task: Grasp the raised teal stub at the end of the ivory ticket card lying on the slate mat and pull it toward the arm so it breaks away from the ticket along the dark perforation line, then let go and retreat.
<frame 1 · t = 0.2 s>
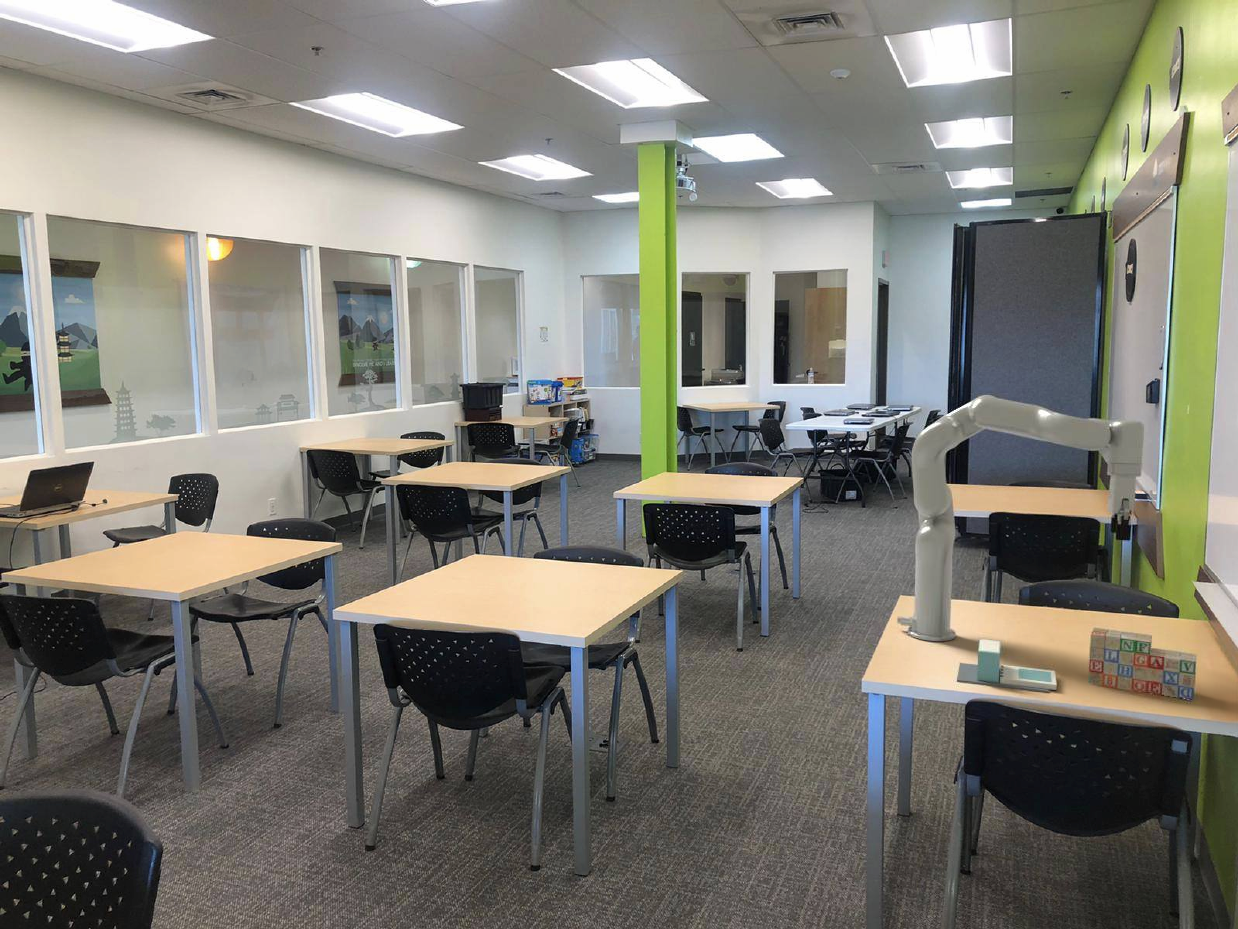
hand: (1120, 536, 235), 31 cm above the table, tool pointing down, fingers open, 9 cm apart
stub: (988, 660, 224), point 4 cm above the table, slide at 0.0 cm
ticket: (1022, 680, 221), on the table
stack of blocks: (1140, 689, 216), on the table
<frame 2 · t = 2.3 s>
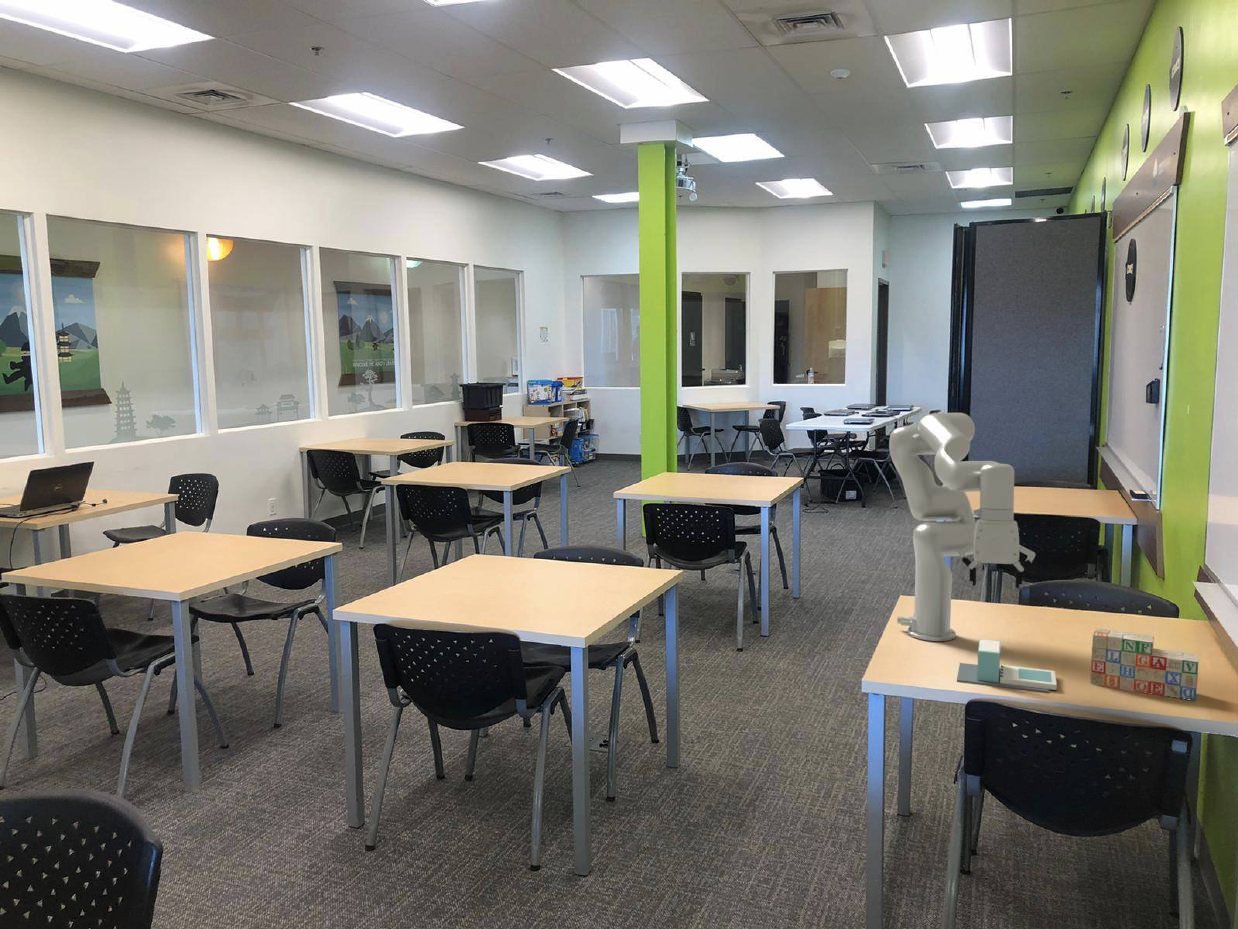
hand: (995, 585, 224), 22 cm above the table, tool pointing down, fingers open, 9 cm apart
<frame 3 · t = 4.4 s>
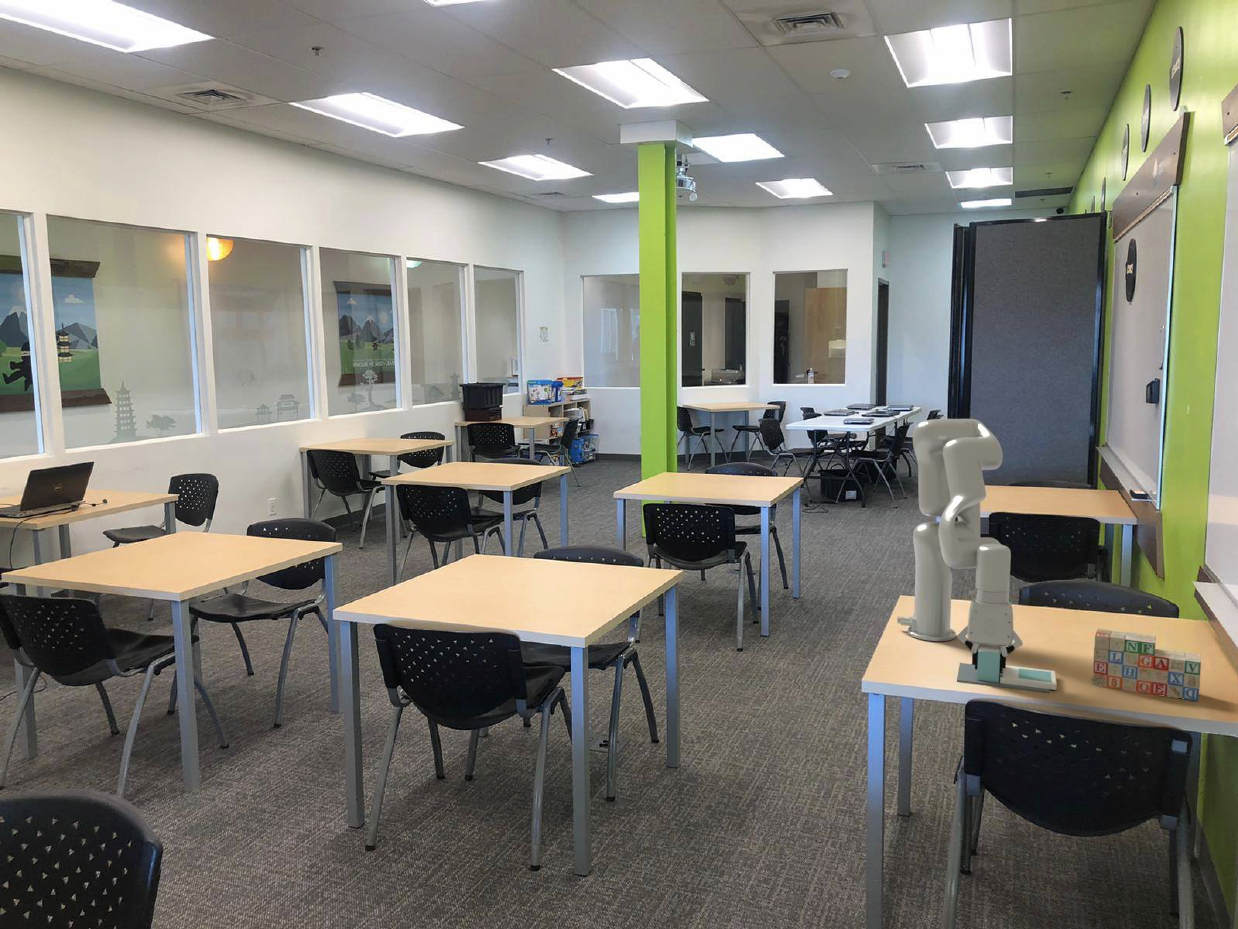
hand: (988, 668, 224), 2 cm above the table, tool pointing down, fingers closed on stub, 4 cm apart
stub: (988, 660, 224), point 4 cm above the table, slide at 0.0 cm, touching gripper
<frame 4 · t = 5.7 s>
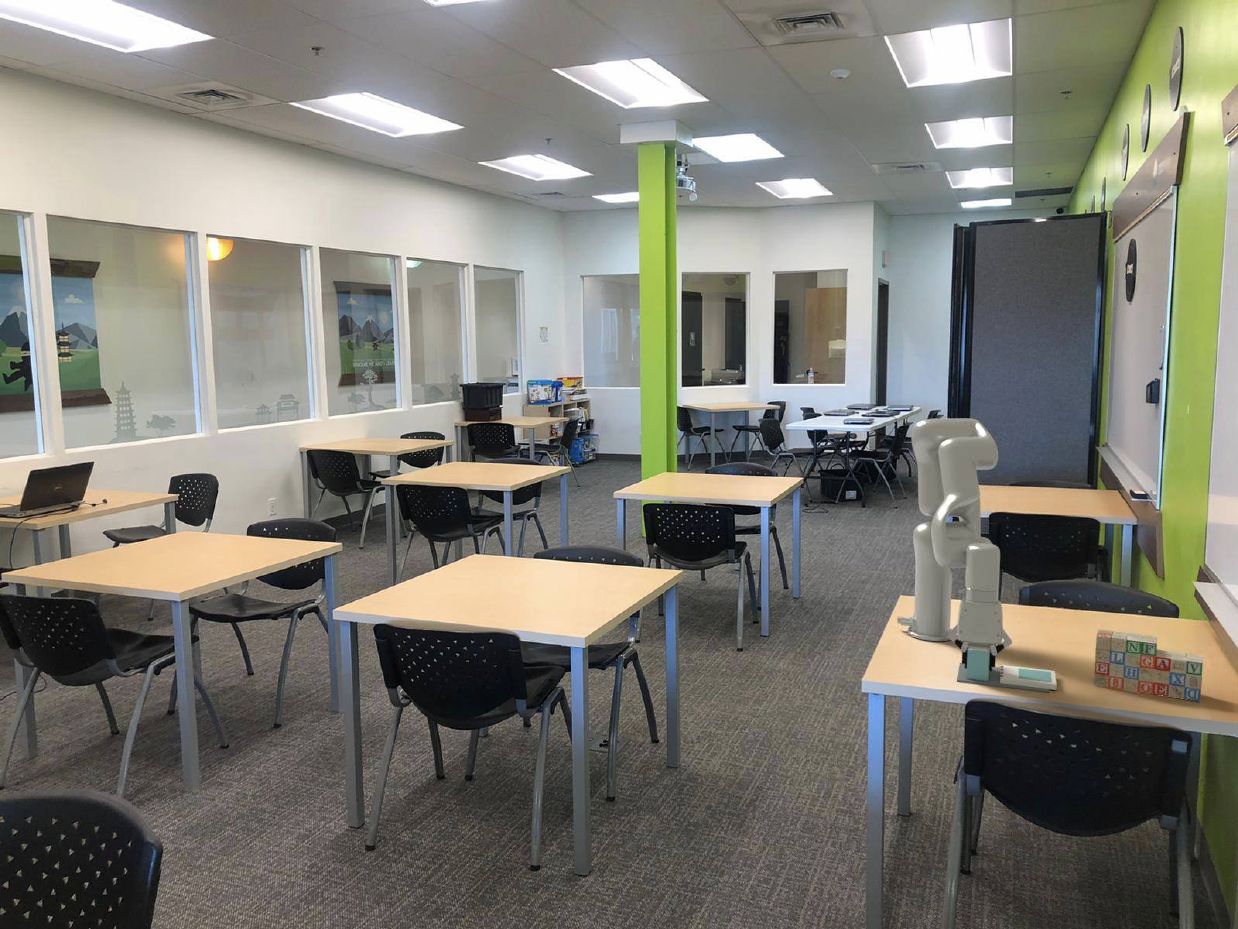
hand: (978, 667, 225), 2 cm above the table, tool pointing down, fingers closed on stub, 4 cm apart
stub: (978, 658, 225), point 4 cm above the table, slide at 2.3 cm, touching gripper
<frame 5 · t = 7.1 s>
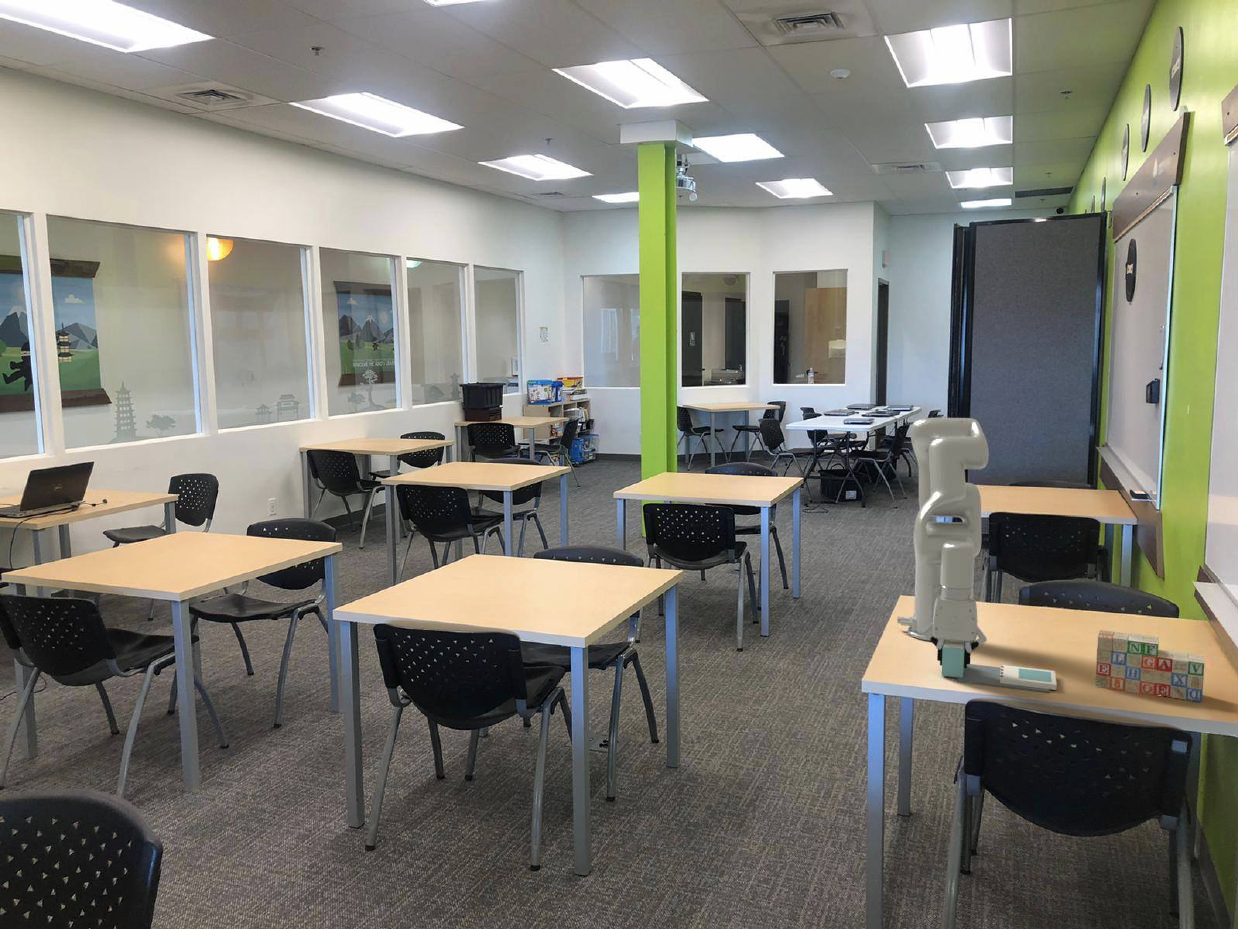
hand: (953, 664, 227), 2 cm above the table, tool pointing down, fingers closed on stub, 4 cm apart
stub: (953, 656, 227), point 4 cm above the table, slide at 8.0 cm, touching gripper
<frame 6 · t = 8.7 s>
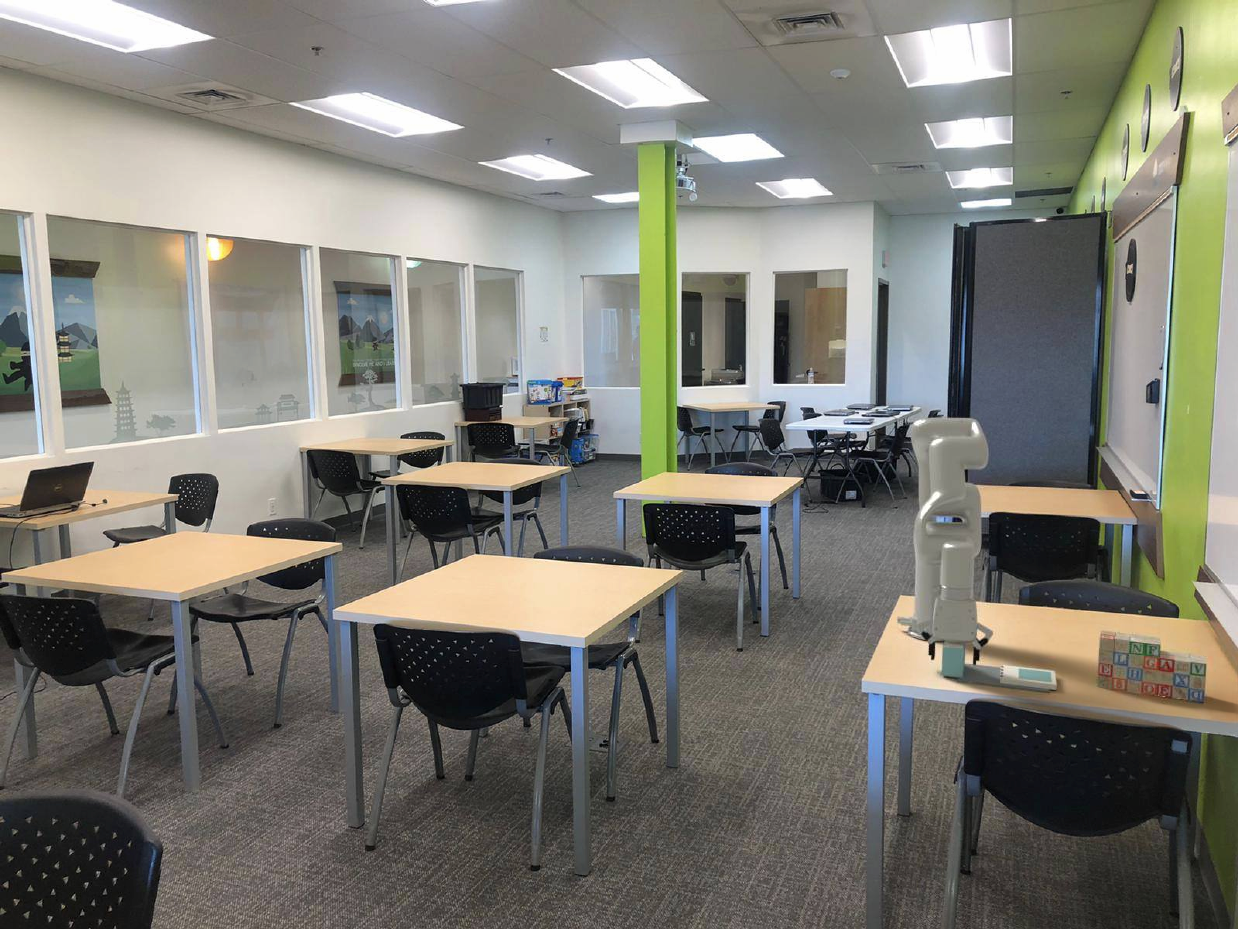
hand: (953, 661, 227), 3 cm above the table, tool pointing down, fingers open, 9 cm apart
stub: (953, 656, 227), point 4 cm above the table, slide at 8.0 cm
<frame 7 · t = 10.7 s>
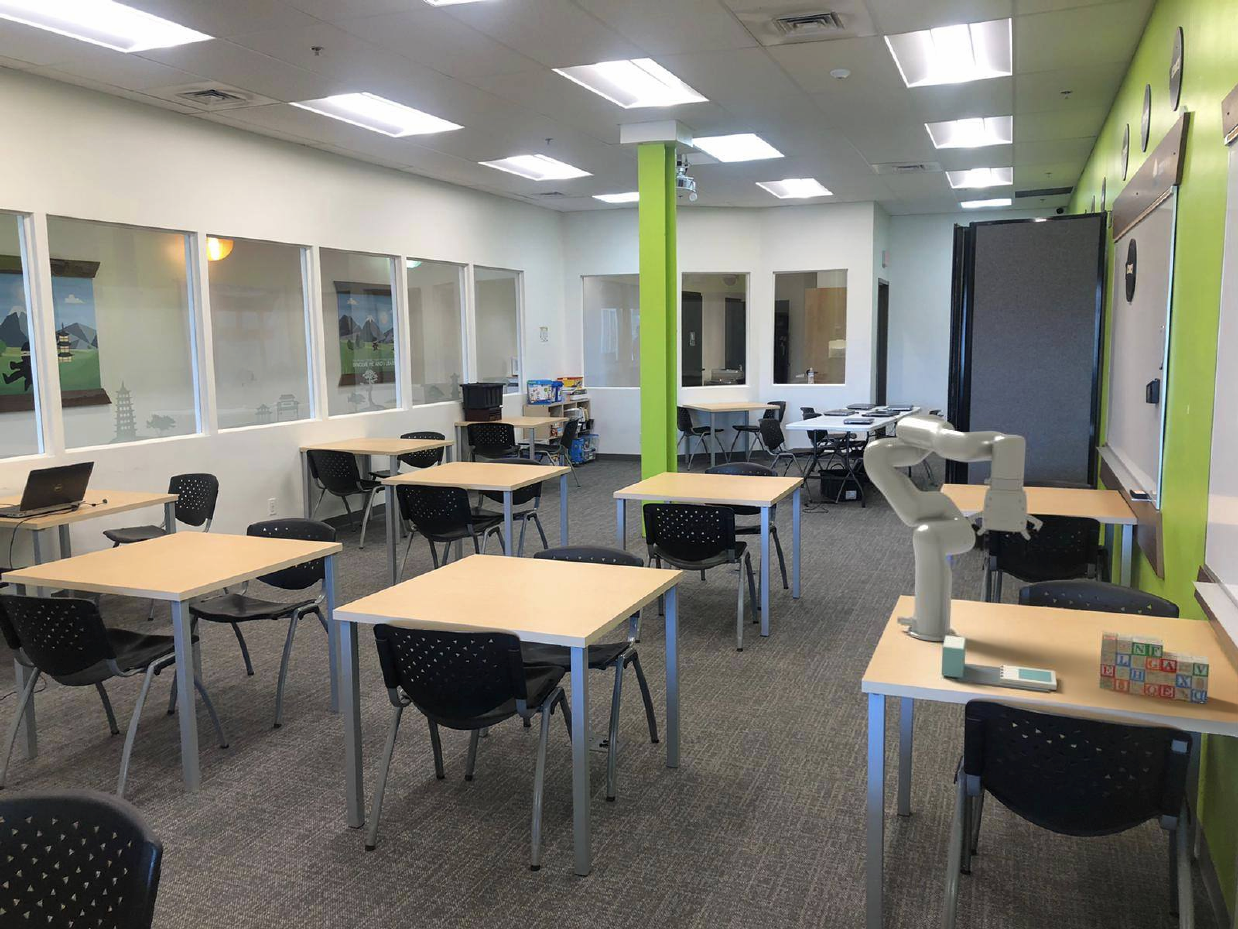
hand: (1002, 552, 233), 28 cm above the table, tool pointing down, fingers open, 9 cm apart
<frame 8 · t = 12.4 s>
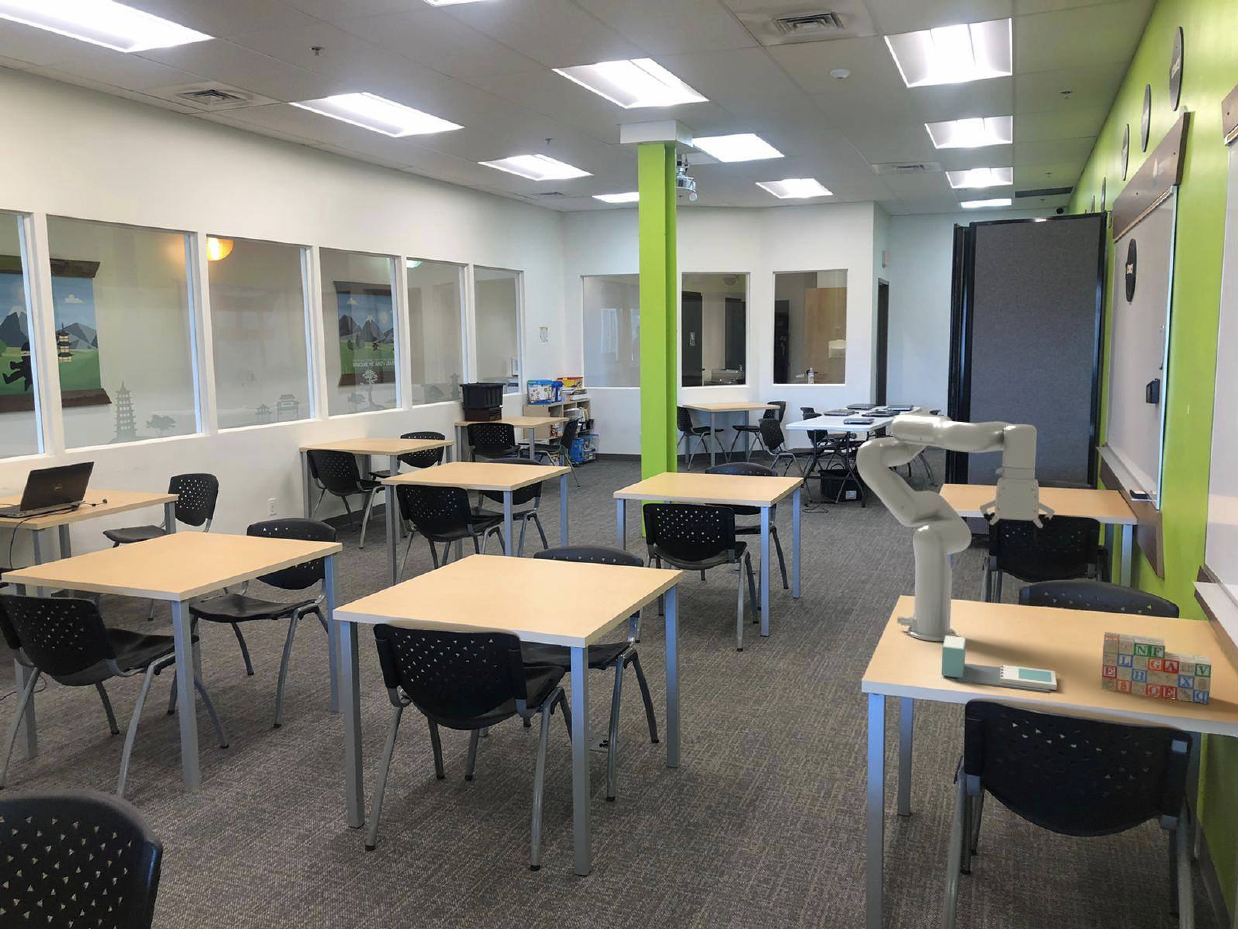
hand: (1015, 541, 234), 30 cm above the table, tool pointing down, fingers open, 9 cm apart
at the end: stub slide at 8.0 cm; the gripper is holding nothing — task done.
